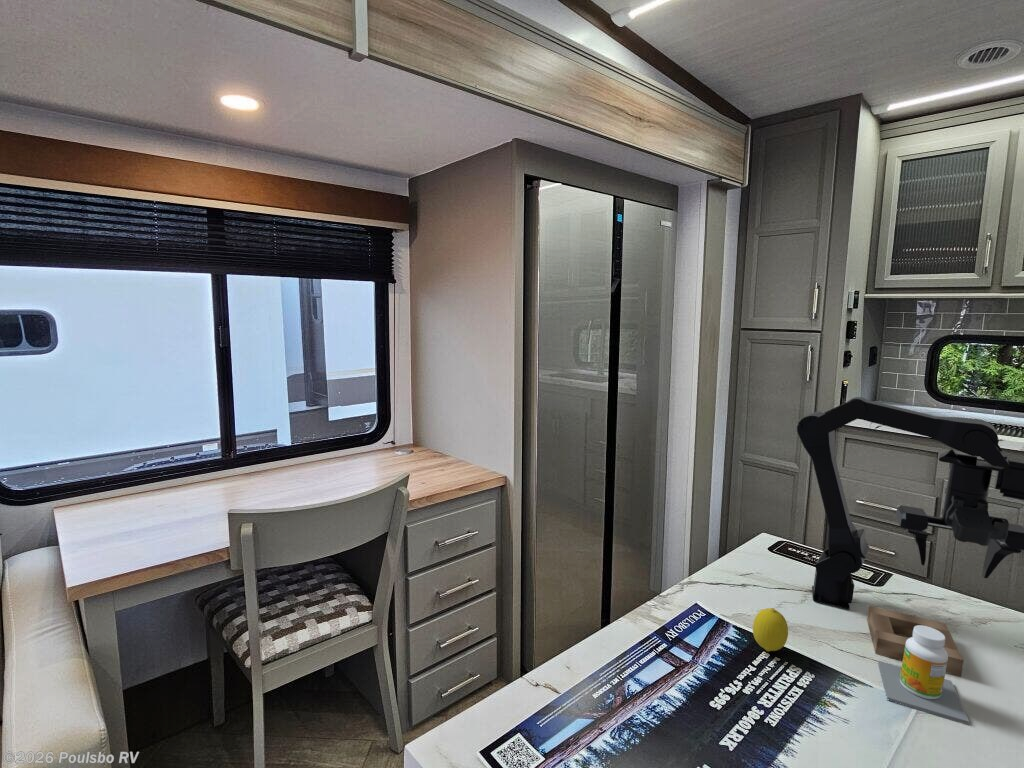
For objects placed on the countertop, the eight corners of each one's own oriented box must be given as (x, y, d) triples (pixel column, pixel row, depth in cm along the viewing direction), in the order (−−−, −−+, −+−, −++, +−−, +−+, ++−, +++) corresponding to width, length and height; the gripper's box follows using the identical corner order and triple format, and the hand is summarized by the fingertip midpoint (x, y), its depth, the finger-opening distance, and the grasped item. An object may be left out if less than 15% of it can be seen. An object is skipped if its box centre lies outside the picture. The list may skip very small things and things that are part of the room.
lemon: (782, 645, 97) (788, 604, 96) (787, 664, 92) (793, 620, 91) (749, 638, 99) (753, 597, 98) (751, 656, 94) (756, 613, 93)
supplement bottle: (890, 677, 89) (899, 622, 88) (921, 676, 90) (930, 622, 88) (917, 701, 84) (927, 643, 82) (950, 700, 84) (960, 642, 83)
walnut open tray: (875, 653, 96) (877, 637, 96) (866, 619, 107) (869, 605, 106) (960, 676, 91) (963, 660, 90) (942, 638, 101) (945, 623, 101)
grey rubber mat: (887, 700, 84) (887, 697, 84) (877, 663, 93) (878, 660, 93) (968, 724, 80) (969, 721, 80) (950, 683, 89) (951, 680, 89)
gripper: (913, 492, 95) (899, 576, 97) (1055, 515, 87) (1037, 606, 89) (901, 475, 105) (889, 552, 107) (1028, 494, 96) (1012, 576, 99)
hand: (952, 570), depth 100 cm, fingers open, 9 cm apart
